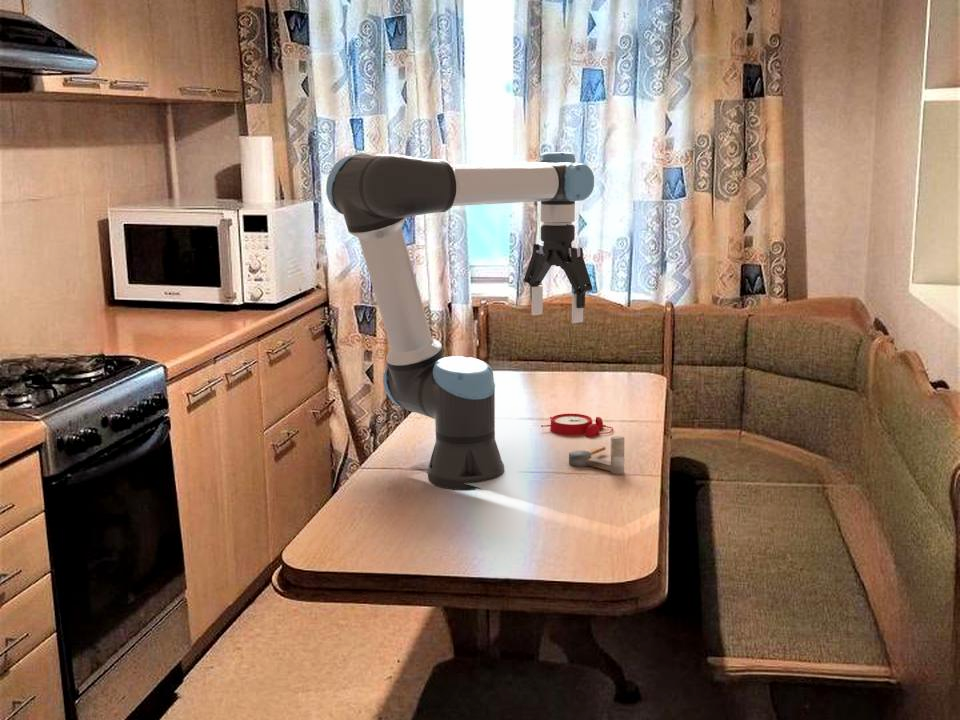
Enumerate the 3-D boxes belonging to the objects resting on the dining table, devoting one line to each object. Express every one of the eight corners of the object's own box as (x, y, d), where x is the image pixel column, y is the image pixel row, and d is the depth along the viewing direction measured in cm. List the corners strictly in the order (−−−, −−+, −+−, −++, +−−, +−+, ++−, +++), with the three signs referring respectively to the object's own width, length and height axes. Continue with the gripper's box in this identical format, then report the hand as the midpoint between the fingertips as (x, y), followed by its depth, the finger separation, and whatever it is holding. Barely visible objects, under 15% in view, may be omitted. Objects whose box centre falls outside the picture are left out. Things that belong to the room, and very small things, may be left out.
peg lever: (564, 463, 205) (564, 430, 203) (594, 451, 213) (595, 418, 211) (616, 476, 197) (616, 441, 195) (646, 463, 204) (646, 429, 203)
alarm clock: (550, 412, 235) (612, 402, 230) (556, 438, 236) (618, 429, 230) (537, 424, 226) (602, 414, 220) (543, 451, 226) (608, 442, 221)
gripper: (609, 225, 218) (607, 324, 222) (533, 219, 237) (533, 309, 242) (584, 227, 214) (582, 327, 218) (508, 221, 233) (508, 313, 237)
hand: (556, 318), depth 230 cm, fingers open, 13 cm apart
